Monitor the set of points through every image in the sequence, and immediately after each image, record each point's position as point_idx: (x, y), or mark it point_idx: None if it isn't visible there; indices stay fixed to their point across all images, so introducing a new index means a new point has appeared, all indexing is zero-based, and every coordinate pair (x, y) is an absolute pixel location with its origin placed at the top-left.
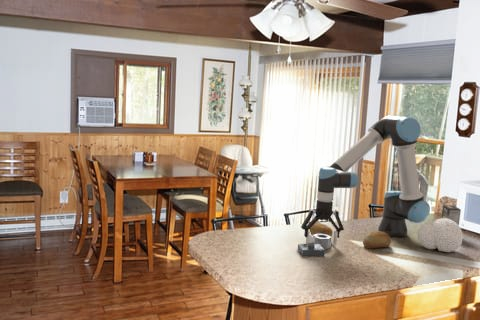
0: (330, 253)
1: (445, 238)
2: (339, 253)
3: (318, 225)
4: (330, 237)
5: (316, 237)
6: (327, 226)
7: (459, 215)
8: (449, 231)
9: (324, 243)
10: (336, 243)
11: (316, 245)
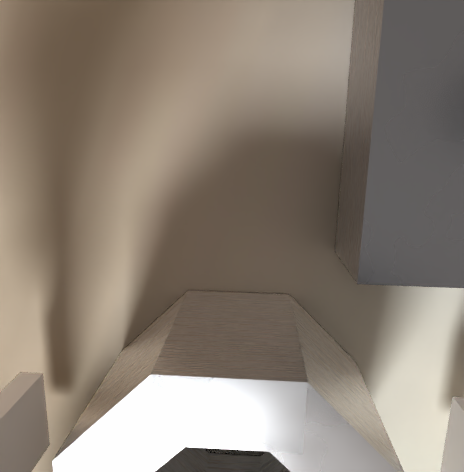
0: (199, 101)
1: None
2: (58, 102)
3: None
4: (71, 456)
5: (381, 464)
6: None
7: None
8: None
9: (230, 330)
10: (8, 388)
11: (452, 186)
